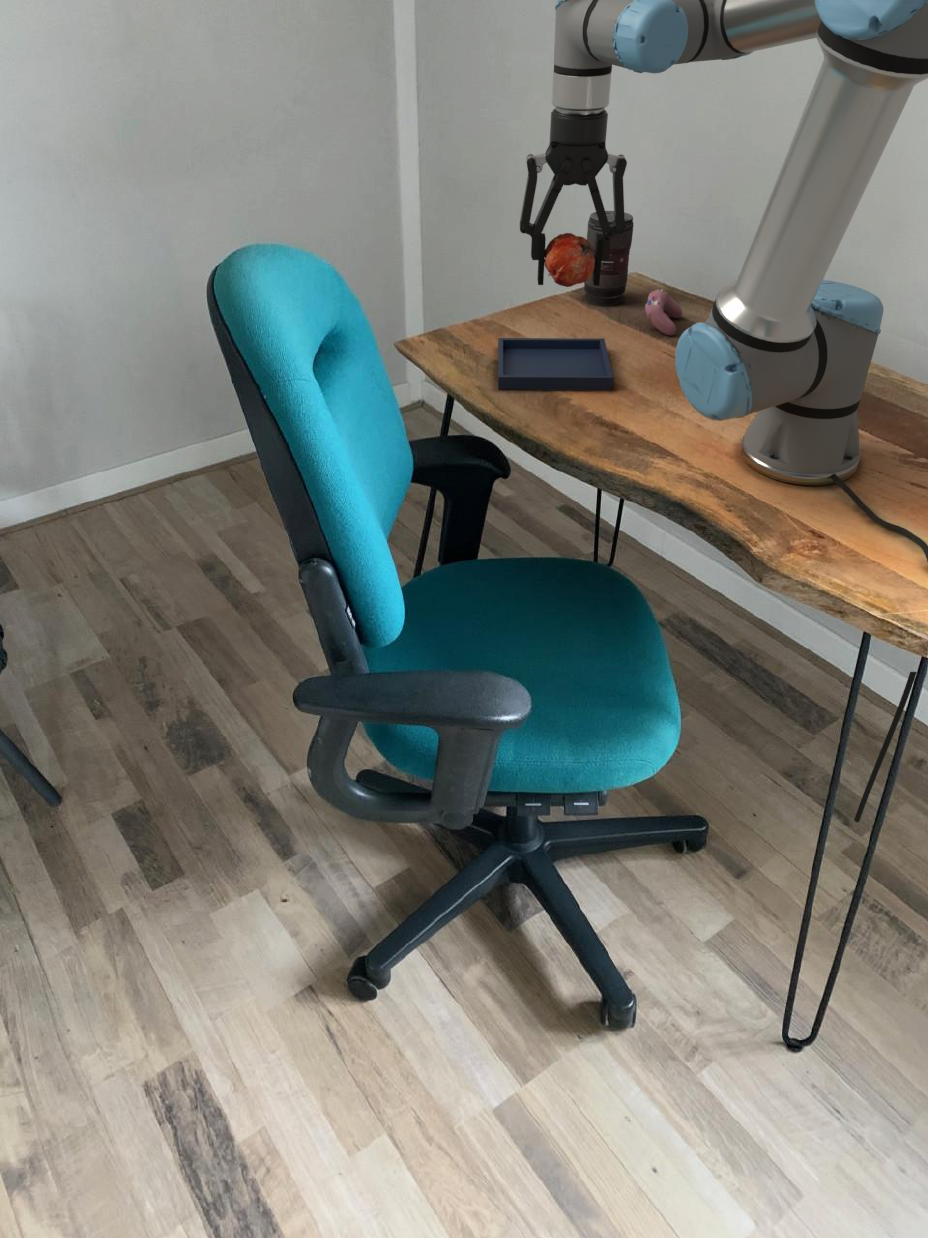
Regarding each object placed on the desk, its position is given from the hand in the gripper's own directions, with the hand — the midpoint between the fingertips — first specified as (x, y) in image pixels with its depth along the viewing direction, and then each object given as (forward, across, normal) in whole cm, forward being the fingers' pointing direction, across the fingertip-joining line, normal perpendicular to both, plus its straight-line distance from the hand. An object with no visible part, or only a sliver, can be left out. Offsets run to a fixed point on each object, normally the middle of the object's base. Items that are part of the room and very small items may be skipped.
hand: (568, 281), depth 140 cm
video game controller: (+16, -19, -23) cm, 34 cm away
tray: (+16, +1, -4) cm, 16 cm away
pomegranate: (0, 0, 0) cm, 0 cm away
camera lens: (+16, -10, -36) cm, 41 cm away
